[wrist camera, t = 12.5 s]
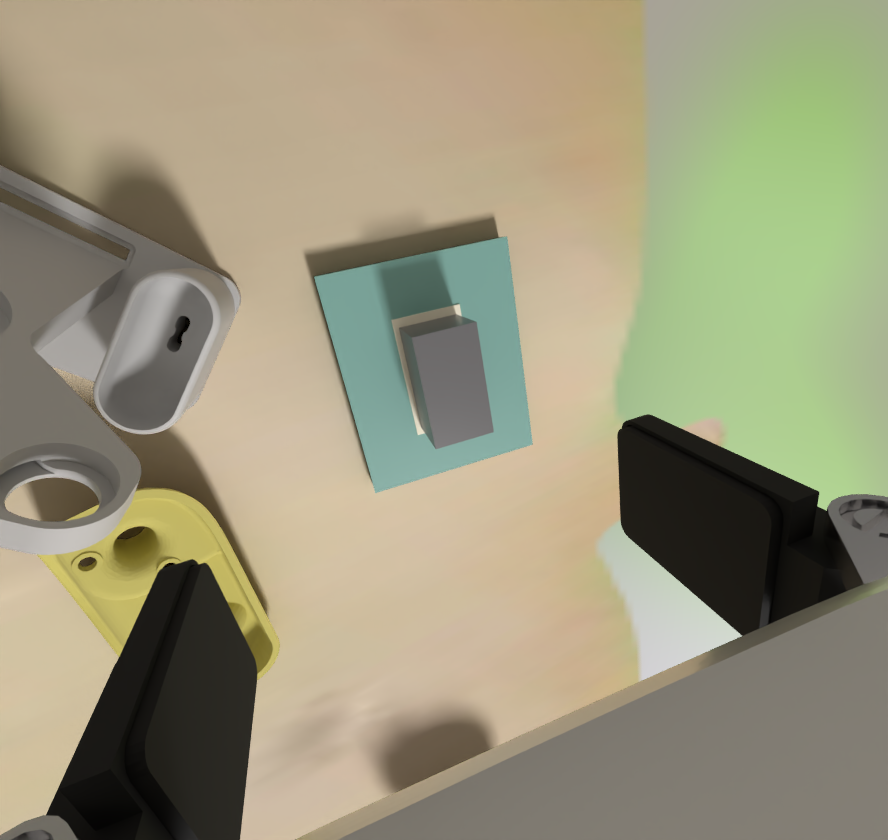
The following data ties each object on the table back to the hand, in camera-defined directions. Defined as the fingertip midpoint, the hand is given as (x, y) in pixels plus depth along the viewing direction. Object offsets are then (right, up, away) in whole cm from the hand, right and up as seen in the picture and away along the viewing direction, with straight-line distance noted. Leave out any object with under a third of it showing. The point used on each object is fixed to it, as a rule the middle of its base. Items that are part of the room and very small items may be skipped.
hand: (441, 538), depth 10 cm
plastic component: (-21, -10, +26) cm, 35 cm away
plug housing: (0, +6, +25) cm, 25 cm away
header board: (-1, +7, +26) cm, 27 cm away
